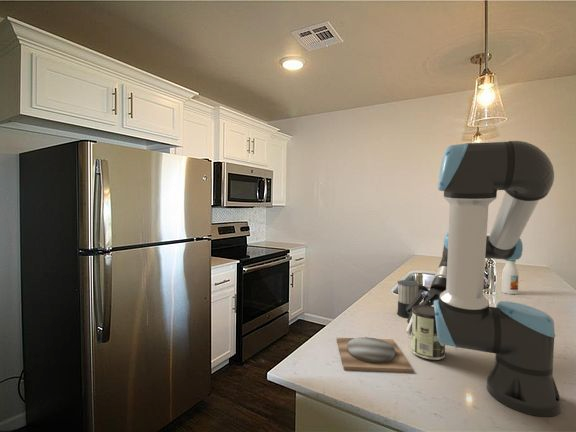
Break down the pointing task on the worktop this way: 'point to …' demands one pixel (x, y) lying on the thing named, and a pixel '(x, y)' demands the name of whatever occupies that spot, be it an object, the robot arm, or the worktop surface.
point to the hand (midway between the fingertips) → (424, 338)
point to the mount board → (370, 366)
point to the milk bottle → (510, 278)
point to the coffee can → (425, 334)
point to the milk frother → (407, 295)
